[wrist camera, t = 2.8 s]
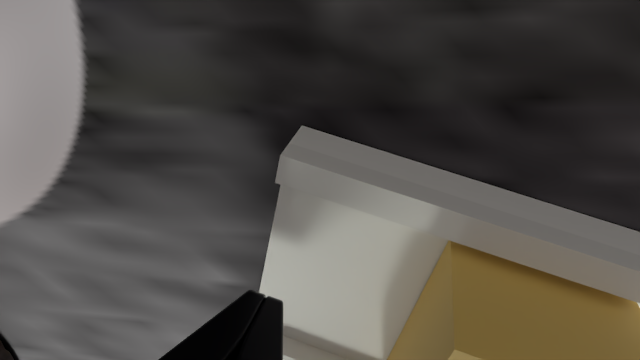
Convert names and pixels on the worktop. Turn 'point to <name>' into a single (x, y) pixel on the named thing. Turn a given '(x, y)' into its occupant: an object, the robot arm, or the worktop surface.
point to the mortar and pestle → (4, 353)
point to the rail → (407, 243)
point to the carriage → (513, 315)
